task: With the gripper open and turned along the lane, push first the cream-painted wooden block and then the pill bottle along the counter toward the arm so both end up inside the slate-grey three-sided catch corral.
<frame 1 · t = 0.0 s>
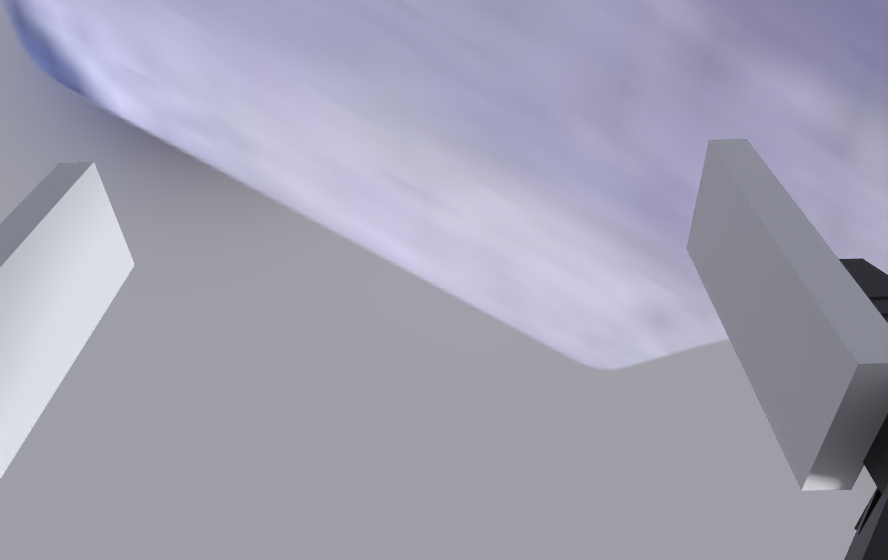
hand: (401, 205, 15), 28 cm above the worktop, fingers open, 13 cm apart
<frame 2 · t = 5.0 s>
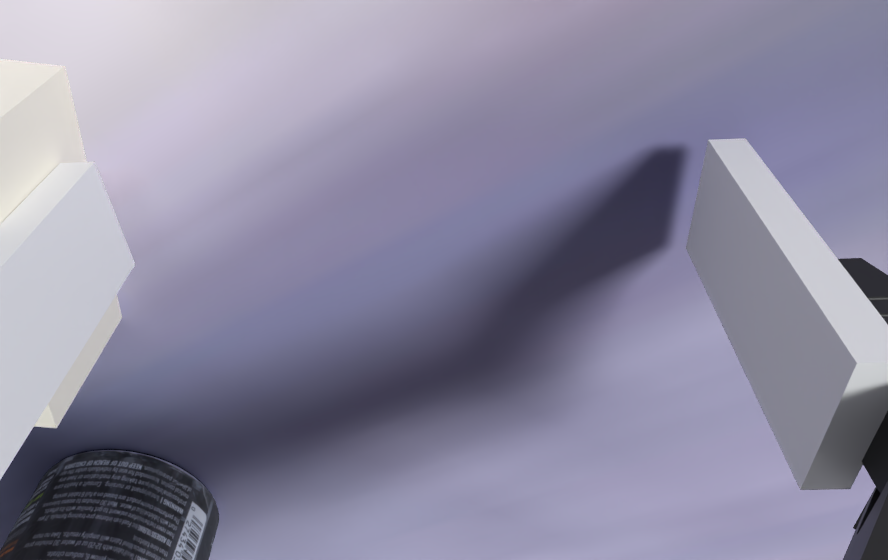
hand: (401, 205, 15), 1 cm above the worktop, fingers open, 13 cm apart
pill bottle: (138, 493, 24), on the worktop
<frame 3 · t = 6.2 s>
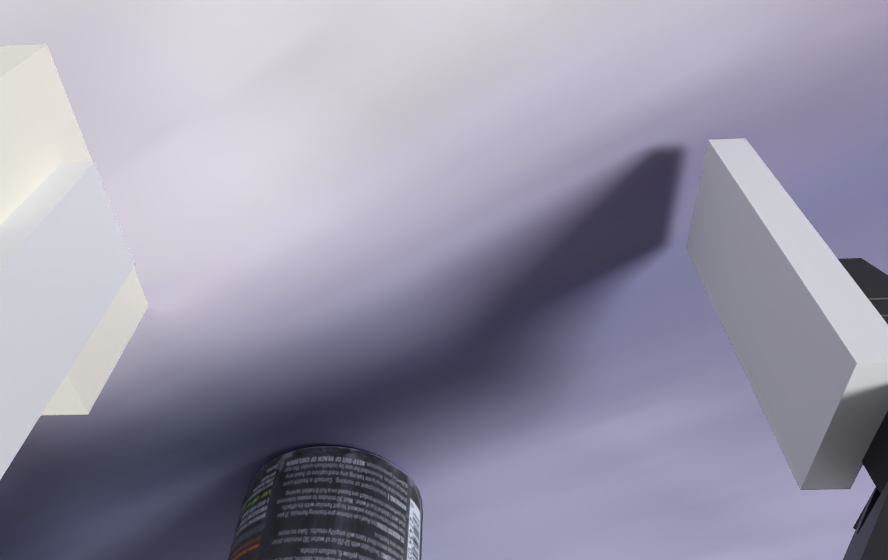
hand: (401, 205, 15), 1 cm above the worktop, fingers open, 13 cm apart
pill bottle: (338, 490, 23), on the worktop
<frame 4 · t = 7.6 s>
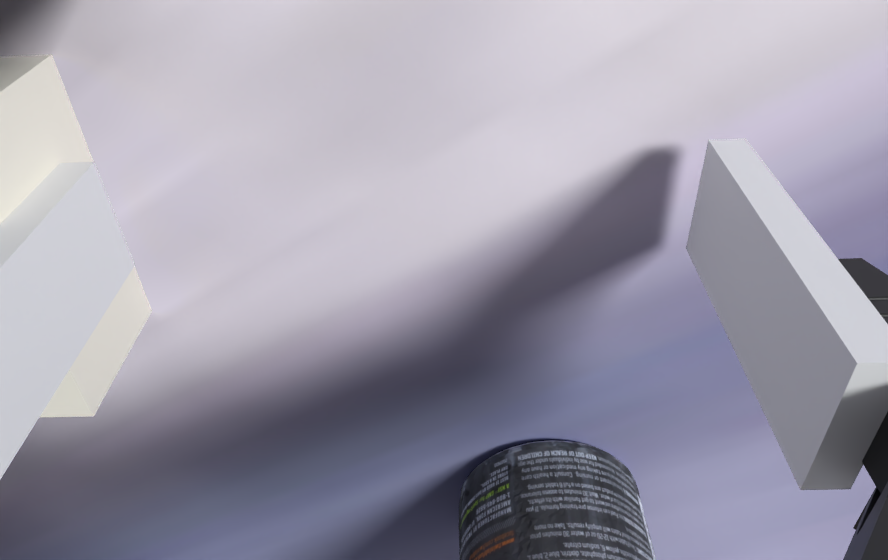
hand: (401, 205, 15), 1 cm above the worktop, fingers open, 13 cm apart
pill bottle: (546, 485, 23), on the worktop
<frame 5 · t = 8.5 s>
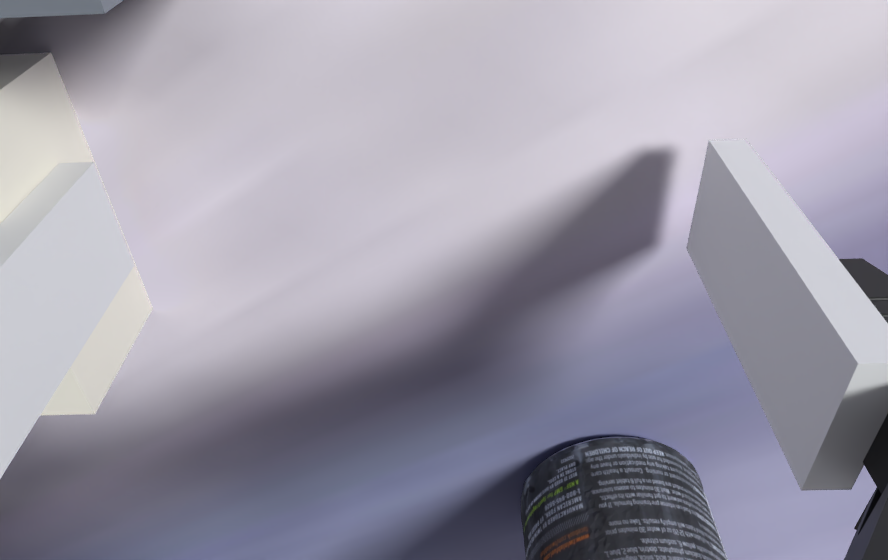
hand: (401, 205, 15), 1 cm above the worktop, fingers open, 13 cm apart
pill bottle: (606, 482, 23), on the worktop
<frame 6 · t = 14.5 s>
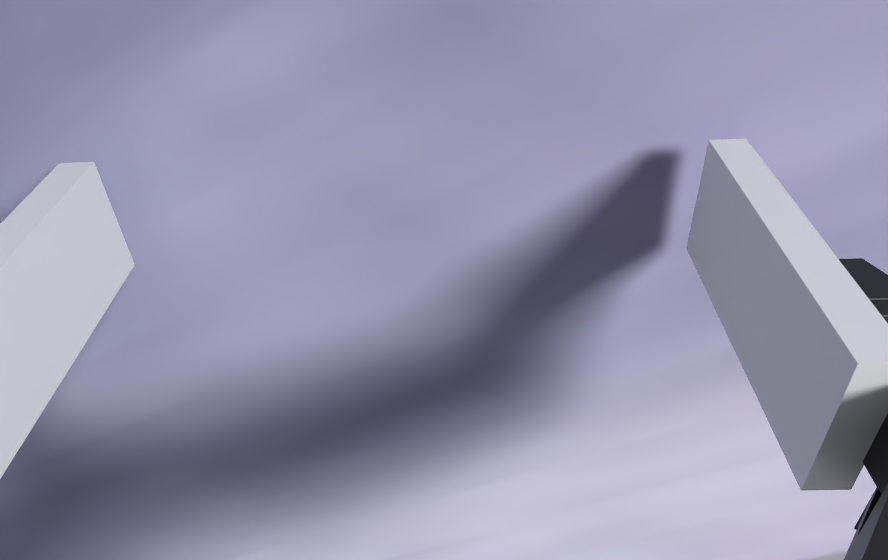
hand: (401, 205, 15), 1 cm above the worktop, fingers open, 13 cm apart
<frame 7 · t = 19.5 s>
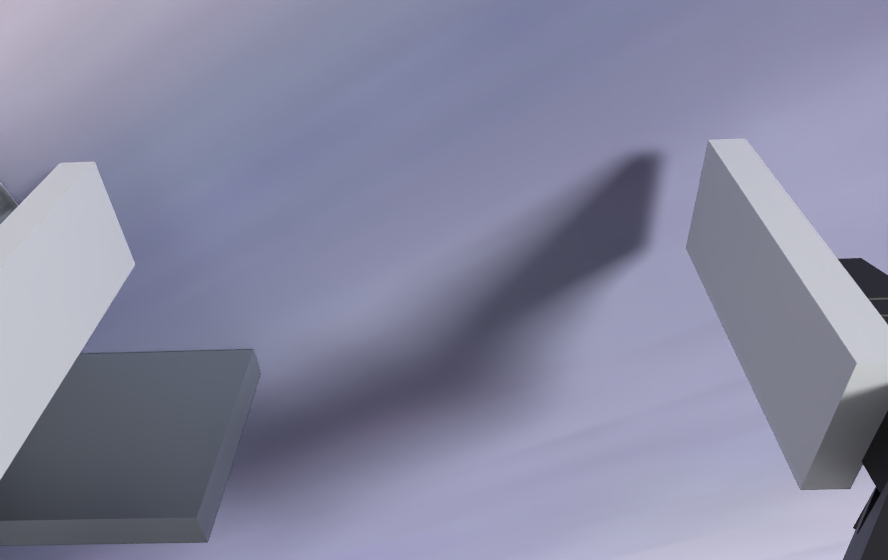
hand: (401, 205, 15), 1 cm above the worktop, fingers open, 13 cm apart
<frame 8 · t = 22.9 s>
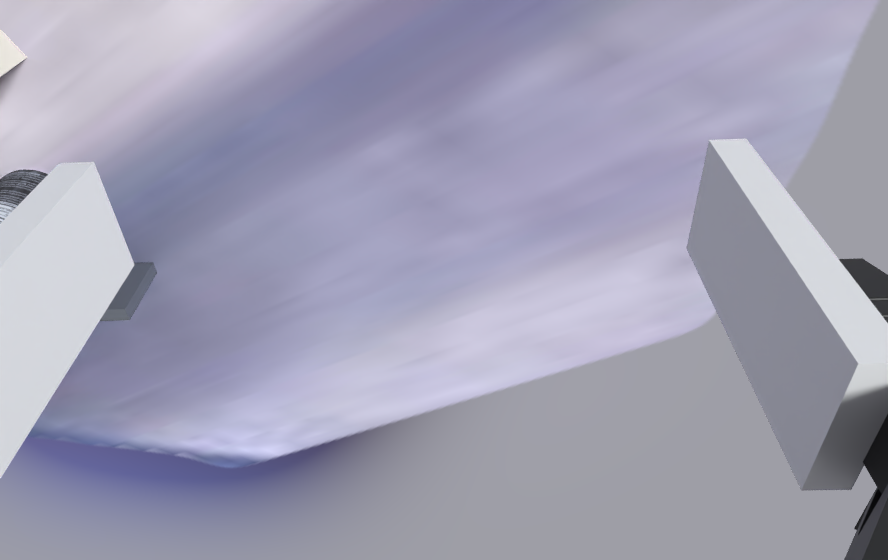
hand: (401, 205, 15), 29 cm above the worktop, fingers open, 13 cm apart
pill bottle: (44, 202, 49), on the worktop
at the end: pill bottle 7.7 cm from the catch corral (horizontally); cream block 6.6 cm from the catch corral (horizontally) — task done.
